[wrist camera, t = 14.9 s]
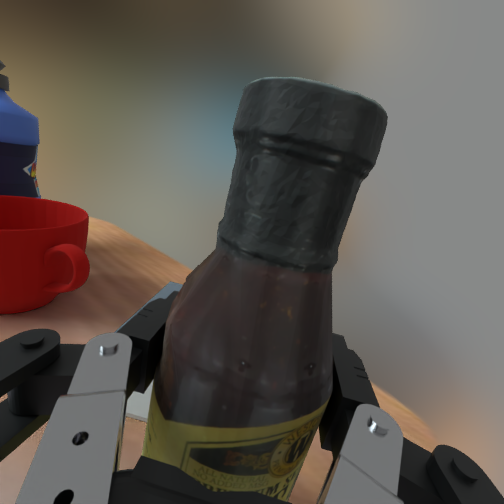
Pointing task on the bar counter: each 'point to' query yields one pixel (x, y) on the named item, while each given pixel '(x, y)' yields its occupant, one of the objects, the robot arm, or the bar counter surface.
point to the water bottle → (17, 146)
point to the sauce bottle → (264, 293)
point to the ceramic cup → (40, 251)
